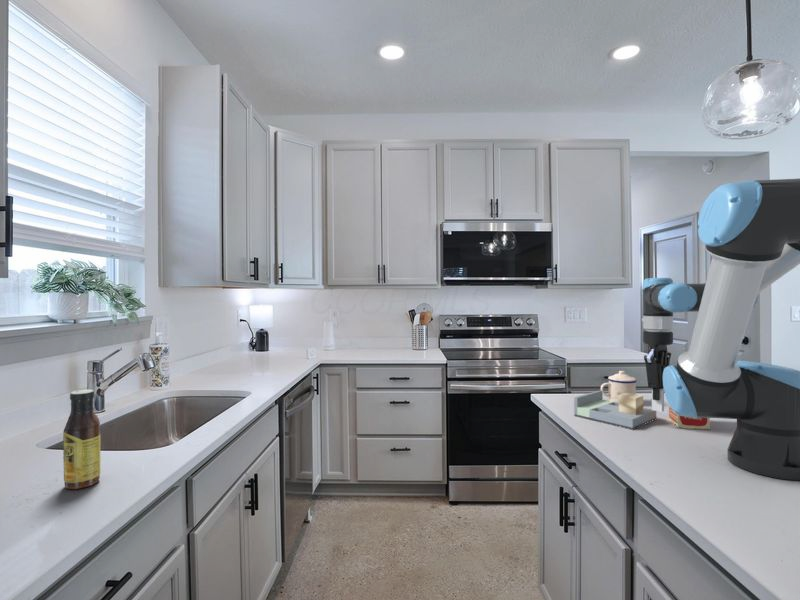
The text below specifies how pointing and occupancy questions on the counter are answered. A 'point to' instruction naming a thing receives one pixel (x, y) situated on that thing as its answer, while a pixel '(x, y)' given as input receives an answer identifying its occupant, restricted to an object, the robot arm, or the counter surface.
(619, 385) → the teacup with lid
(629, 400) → the maple block
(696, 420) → the milk carton
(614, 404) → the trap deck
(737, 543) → the counter surface
